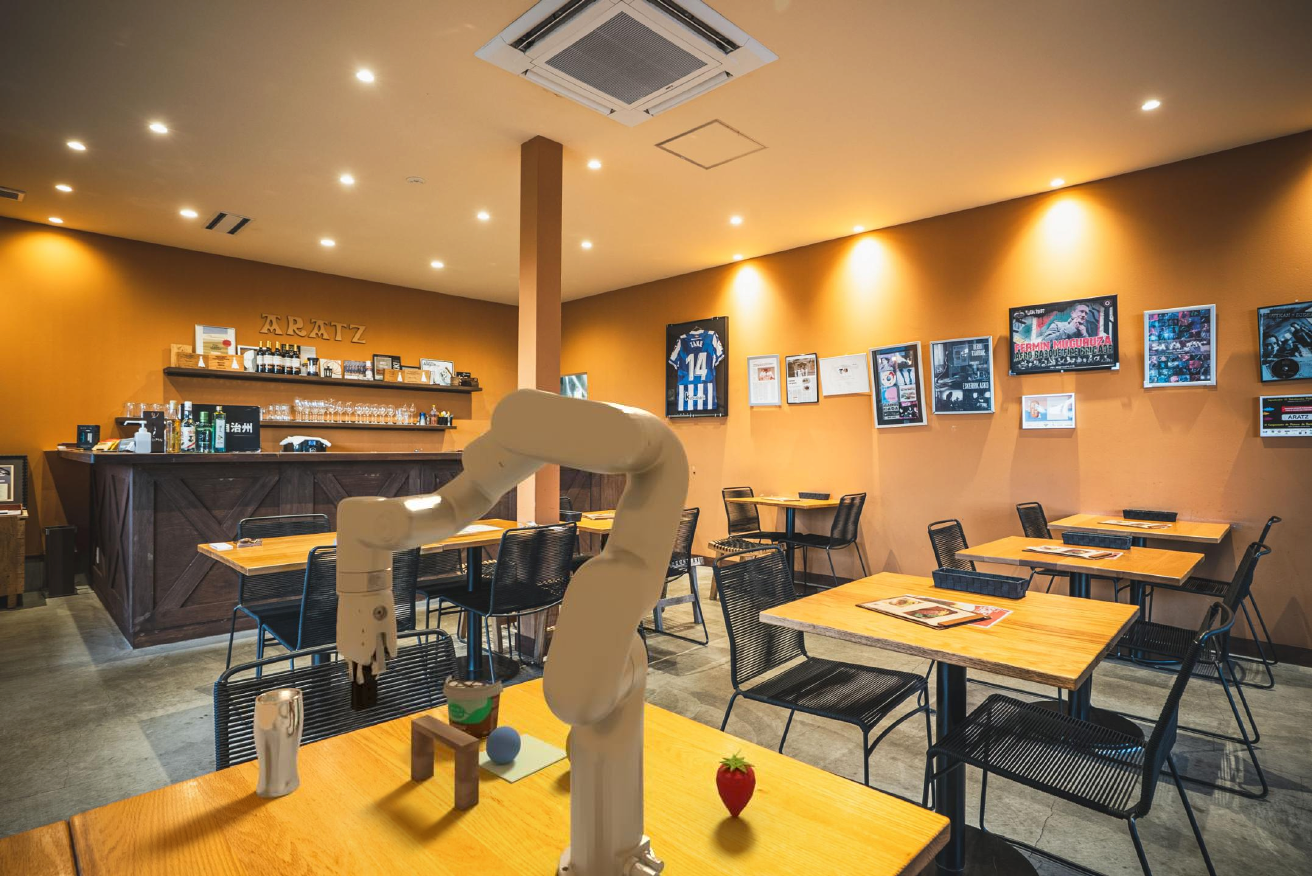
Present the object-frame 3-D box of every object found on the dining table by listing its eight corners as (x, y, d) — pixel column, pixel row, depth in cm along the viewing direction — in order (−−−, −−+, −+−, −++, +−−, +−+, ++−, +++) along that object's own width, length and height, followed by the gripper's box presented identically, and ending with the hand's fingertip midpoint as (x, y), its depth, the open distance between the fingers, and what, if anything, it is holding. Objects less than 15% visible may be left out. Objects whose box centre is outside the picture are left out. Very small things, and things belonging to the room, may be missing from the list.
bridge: (427, 771, 110) (427, 714, 110) (478, 802, 100) (479, 739, 100) (410, 778, 107) (411, 719, 108) (461, 810, 98) (461, 746, 98)
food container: (429, 738, 123) (429, 685, 123) (448, 725, 129) (448, 674, 129) (486, 746, 119) (486, 691, 119) (503, 732, 125) (503, 680, 125)
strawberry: (756, 804, 99) (756, 738, 99) (755, 832, 92) (755, 761, 92) (717, 801, 100) (717, 735, 100) (714, 829, 93) (713, 758, 93)
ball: (498, 750, 108) (508, 776, 110) (522, 723, 113) (532, 749, 115) (474, 740, 112) (484, 765, 114) (498, 714, 116) (508, 739, 118)
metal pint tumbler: (243, 793, 103) (244, 698, 103) (285, 774, 109) (286, 684, 109) (269, 804, 100) (270, 706, 100) (312, 784, 106) (312, 691, 106)
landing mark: (571, 754, 116) (571, 753, 116) (511, 782, 106) (511, 781, 106) (525, 734, 124) (525, 733, 124) (466, 758, 114) (466, 757, 114)
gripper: (415, 583, 93) (414, 712, 92) (366, 571, 102) (365, 688, 102) (363, 592, 87) (362, 729, 86) (316, 578, 97) (315, 702, 96)
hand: (363, 707), depth 94 cm, fingers closed
